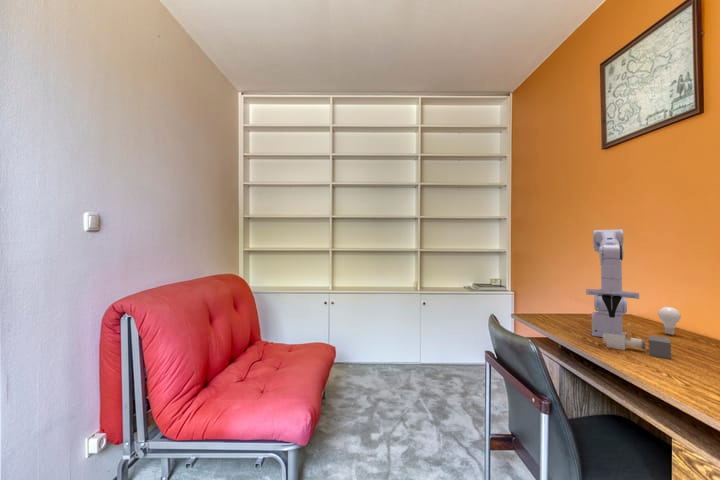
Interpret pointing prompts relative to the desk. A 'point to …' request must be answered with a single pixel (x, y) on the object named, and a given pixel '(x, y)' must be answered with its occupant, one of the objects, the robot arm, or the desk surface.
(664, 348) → the socket
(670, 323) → the lightbulb
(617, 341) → the light grey cube
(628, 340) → the slip tube
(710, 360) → the desk surface
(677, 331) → the desk surface
